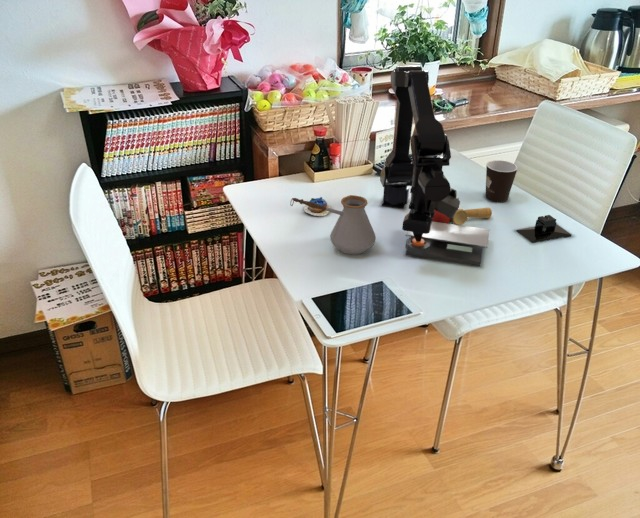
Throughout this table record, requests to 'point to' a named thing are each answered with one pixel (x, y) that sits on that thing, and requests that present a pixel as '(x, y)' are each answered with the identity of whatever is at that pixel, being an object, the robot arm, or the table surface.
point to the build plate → (544, 230)
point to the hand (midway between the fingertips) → (418, 240)
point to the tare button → (417, 243)
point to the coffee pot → (349, 225)
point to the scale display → (459, 248)
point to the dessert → (314, 210)
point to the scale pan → (456, 234)
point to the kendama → (462, 215)
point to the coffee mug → (499, 180)
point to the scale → (444, 252)
